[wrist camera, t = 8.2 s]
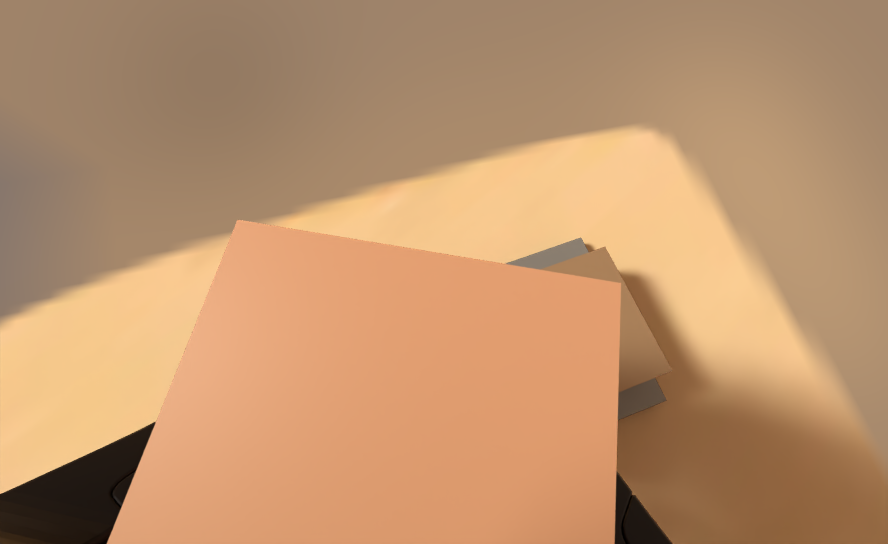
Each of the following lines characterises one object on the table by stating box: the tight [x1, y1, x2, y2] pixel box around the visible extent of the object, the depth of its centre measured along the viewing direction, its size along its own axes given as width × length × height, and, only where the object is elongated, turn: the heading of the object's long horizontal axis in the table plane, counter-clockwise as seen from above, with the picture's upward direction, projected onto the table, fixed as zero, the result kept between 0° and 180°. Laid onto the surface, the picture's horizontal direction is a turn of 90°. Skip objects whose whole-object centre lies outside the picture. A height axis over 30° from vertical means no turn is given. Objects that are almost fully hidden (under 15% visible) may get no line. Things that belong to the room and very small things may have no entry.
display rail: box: [506, 238, 672, 420], centre depth 16 cm, size 20×9×3 cm, turn 110°
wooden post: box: [107, 220, 621, 544], centre depth 9 cm, size 4×4×12 cm
